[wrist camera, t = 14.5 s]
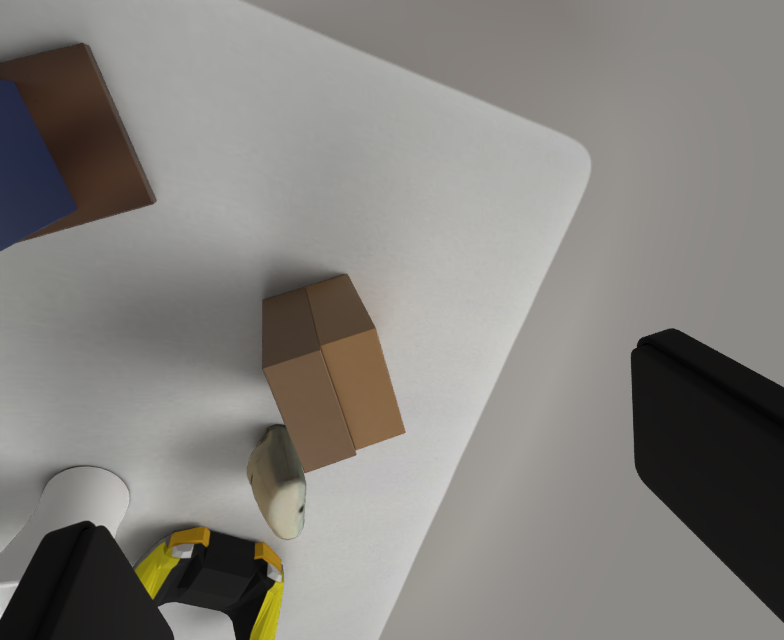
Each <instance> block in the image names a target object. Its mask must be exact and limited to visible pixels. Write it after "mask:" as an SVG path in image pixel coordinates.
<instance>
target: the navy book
mask: <svg viewBox="0 0 784 640" xmlns="http://www.w3.org/2000/svg"><path fill="white" fill-rule="evenodd" d="M77 210H78V208H77V206H76V204H75V202H74V200H73V198H72V196H71V194H70V192H69V190H68V188H67V186H66V184H65V182H64V180H63V178H62V176H61V174H60V172H59V170H58V168H57V166H56V164H55V162H54V160H53V158H52V156H51V154H50V152H49V150H48V148H47V146H46V144H45V142H44V140H43V138H42V136H41V134H40V132H39V130H38V128H37V126H36V124H35V122H34V120H33V118H32V116H31V115H30V113H29V111H28V109H27V107H26V105H25V103H24V101H23V99H22V97H21V95H20V93H19V91H18V89H17V87H16V85H15V83H14V81H8V80H0V251H2V250H4V249H5V248H7V247H9V246H11V245H13V244H15V243H17V242H19V241H21V240H22V239H24V238H26V237H28V236H30V235H32V234H34V233H36V232H38V231H39V230H41V229H43V228H45V227H47V226H49V225H51V224H53V223H54V222H56V221H58V220H60V219H62V218H64V217H66V216H68V215H70V214H71V213H73V212H75V211H77Z"/></svg>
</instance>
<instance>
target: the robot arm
mask: <svg viewBox="0 0 784 640" xmlns="http://www.w3.org/2000/svg"><path fill="white" fill-rule="evenodd" d="M631 375H632V403H633V430H634V458H635V467H636V470H637V473H638V475H639V477H640V478H641V480H642V481H643V482H644V483H645V485H646V486H647V487H648V488H649V489H650V490H651V491H652V492H653V493H654V494H655V495H656V496H657V497H658V498H659V499H660V500H662V501H663V503H664V504H665V505H667V507H669V509H670V510H671V511H672V512H673V513H674V514H675V515H676V516H677V517H678V518H679V519H680V520H681V521H682V522H683V523H684V524H685V525H686V526H687V527H688V528H689V529H690V530H692V532H693V533H694V534H696V536H697V537H698V538H699V539H700V540H701V541H702V542H704V544H705V545H706V546H707V547H708V548H709V549H710V550H711V551H712V552H713V553H715V555H717V557H719V558H720V560H721V561H722V562H723V563H724V564H725V565H726V566H727V567H728V568H729V569H730V570H731V571H732V572H734V574H735V575H736V576H738V577H739V579H740V580H741V581H742V582H744V583H745V585H746V586H747V587H749V589H750V590H751V591H753V593H754V594H756V596H758V597H759V599H760V600H761V601H762V602H763V603H765V604H766V606H767V607H768V608H770V610H772V612H774V614H775V615H776V616H777V617H778V618H779V619H781V620H782V621H783V622H784V387H782V386H780V385H778V384H777V383H775V382H773V381H771V380H769V379H767V378H765V377H764V376H762V375H760V374H758V373H756V372H755V371H753V370H751V369H749V368H747V367H745V366H744V365H741V364H740V363H738V362H736V361H734V360H733V359H731V358H729V357H727V356H725V355H723V354H722V353H719V352H718V351H716V350H714V349H712V348H710V347H709V346H707V345H705V344H703V343H701V342H699V341H698V340H696V339H694V338H692V337H690V336H688V335H687V334H685V333H683V332H681V331H679V330H676V329H673V328H672V329H667V330H664V331H661V332H658V333H655V334H652V335H648V336H646V337H642V338H641V339H640V340H639V341H638V343H637V348H635V349H634V350H633V351H632V353H631ZM0 640H174V636H173V632H172V630H171V628H170V626H169V625H168V623H167V622H166V620H165V618H164V617H163V615H162V614H161V612H160V611H159V609H158V607H157V606H156V604H155V603H154V601H153V599H152V598H151V596H150V595H149V593H148V592H147V590H146V588H145V587H144V585H143V584H142V582H141V580H140V579H139V577H138V576H137V574H136V573H135V571H134V569H133V568H132V566H131V565H130V563H129V561H128V560H127V558H126V557H125V555H124V554H123V552H122V550H121V549H120V547H119V546H118V544H117V542H116V541H115V539H114V538H113V536H112V535H111V533H110V531H109V530H108V529H107V528H106V527H105V526H103V525H99V526H95V524H94V523H92V522H91V521H82V522H79V523H76V524H73V525H70V526H67V527H63V528H60V529H57V530H54V531H51V532H49V533H47V534H46V535H45V536H44V537H43V539H42V540H41V542H40V544H39V546H38V548H37V550H36V552H35V553H34V555H33V557H32V559H31V561H30V563H29V565H28V567H27V569H26V571H25V573H24V574H23V576H22V578H21V580H20V582H19V584H18V586H17V588H16V590H15V592H14V594H13V596H12V597H11V599H10V601H9V603H8V605H7V607H6V609H5V611H4V613H3V615H2V617H1V619H0Z"/></svg>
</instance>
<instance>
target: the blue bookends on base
mask: <svg viewBox="0 0 784 640" xmlns="http://www.w3.org/2000/svg"><path fill="white" fill-rule="evenodd" d="M0 80H8V81H14V83H15V85H16V87H17V89H18V91H19V93H20V95H21V97H22V99H23V101H24V103H25V105H26V107H27V109H28V111H29V113H30V115H31V116H32V118H33V120H34V122H35V124H36V126H37V128H38V130H39V132H40V134H41V136H42V138H43V140H44V142H45V144H46V146H47V148H48V150H49V152H50V154H51V156H52V158H53V160H54V162H55V164H56V166H57V168H58V170H59V172H60V174H61V176H62V178H63V180H64V182H65V184H66V186H67V188H68V190H69V192H70V194H71V196H72V198H73V200H74V202H75V204H76V206H77V208H78V210H77V211H75V212H73V213H71V214H70V215H68V216H66V217H64V218H62V219H60V220H58V221H56V222H54V223H53V224H51V225H49V226H47V227H45V228H43V229H41V230H39V231H38V232H36V233H34V234H32V235H30V236H28V237H26V238H24V239H22V240H21V241H25V240H29V239H32V238H36V237H39V236H43V235H46V234H50V233H53V232H57V231H60V230H64V229H67V228H71V227H74V226H78V225H82V224H85V223H89V222H92V221H96V220H99V219H103V218H106V217H110V216H113V215H117V214H120V213H124V212H127V211H131V210H135V209H138V208H142V207H145V206H149V205H152V204H154V203H155V202H156V201H157V200H156V198H155V196H154V193H153V191H152V189H151V187H150V184H149V182H148V180H147V177H146V175H145V173H144V170H143V168H142V166H141V164H140V161H139V159H138V157H137V154H136V152H135V150H134V147H133V145H132V143H131V141H130V138H129V136H128V134H127V131H126V129H125V127H124V124H123V122H122V120H121V118H120V115H119V113H118V111H117V108H116V106H115V104H114V102H113V99H112V97H111V95H110V92H109V90H108V88H107V85H106V83H105V81H104V79H103V76H102V74H101V72H100V69H99V67H98V65H97V62H96V60H95V58H94V56H93V53H92V51H91V49H90V46H89V45H87V44H84V43H80V44H76V45H72V46H68V47H64V48H60V49H56V50H51V51H47V52H43V53H39V54H35V55H31V56H27V57H23V58H19V59H15V60H10V61H6V62H2V63H0ZM21 241H19V242H21ZM17 243H18V242H17Z"/></svg>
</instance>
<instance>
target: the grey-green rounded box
mask: <svg viewBox="0 0 784 640" xmlns="http://www.w3.org/2000/svg"><path fill="white" fill-rule="evenodd" d="M247 478H248V480H249V483H250V485H251V487H252V490H253V494H254V497H255V500H256V502H257V504H258V507H259V509H260V511H261V513H262V515H263V517H264V518H265V520H266V522H267V523H268V525H269V527H270V528H271V529H272V531H273V532H274V533H275V534H276V535H277V536H278V537H279V538H281V539H285V540H290V539H294V538H296V537H297V536H298V535H299V534H300V533H301V531H302V529H303V526H304V509H305V496H306V481H305V477H304V473H303V470H302V466H301V463H300V461H299V458H298V456H297V453H296V451H295V448H294V446H293V443H292V441H291V438H290V436H289V433H288V431H287V429H286V426H285V425H275V426H271V427H269V428H268V430H267V432H266V435H265V437H264V438H263V439H262V440H261V441H260V442H259V443H258V445H257V447H256V449H255V450H254V451H253V452H252V454H251V456H250V458H249V463H248V466H247Z"/></svg>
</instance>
